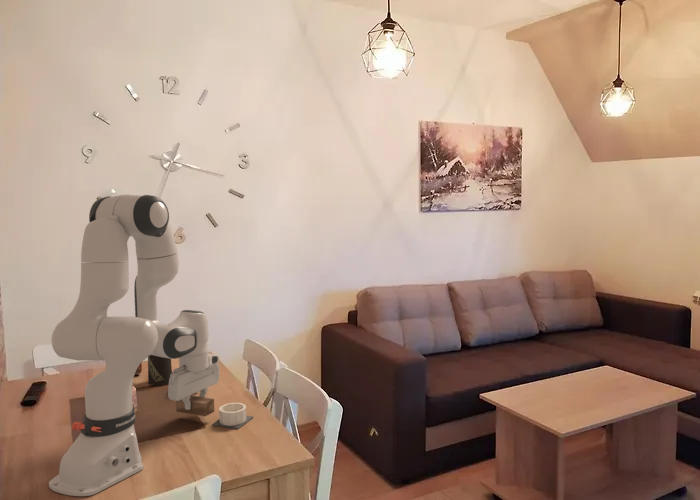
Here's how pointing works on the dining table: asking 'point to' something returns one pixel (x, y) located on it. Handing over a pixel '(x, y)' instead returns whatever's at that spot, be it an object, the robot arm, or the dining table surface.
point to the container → (159, 370)
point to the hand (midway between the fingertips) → (195, 405)
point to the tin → (138, 369)
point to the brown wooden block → (197, 406)
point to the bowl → (232, 414)
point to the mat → (233, 425)
